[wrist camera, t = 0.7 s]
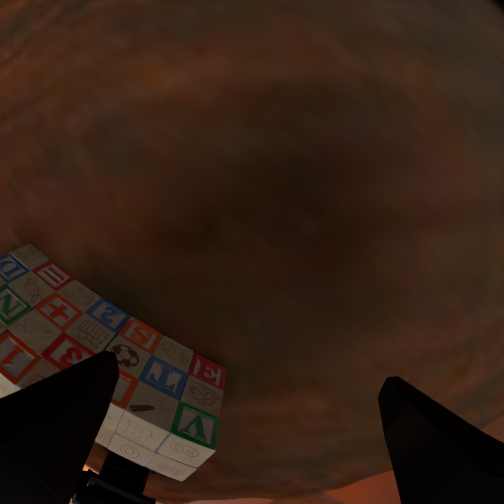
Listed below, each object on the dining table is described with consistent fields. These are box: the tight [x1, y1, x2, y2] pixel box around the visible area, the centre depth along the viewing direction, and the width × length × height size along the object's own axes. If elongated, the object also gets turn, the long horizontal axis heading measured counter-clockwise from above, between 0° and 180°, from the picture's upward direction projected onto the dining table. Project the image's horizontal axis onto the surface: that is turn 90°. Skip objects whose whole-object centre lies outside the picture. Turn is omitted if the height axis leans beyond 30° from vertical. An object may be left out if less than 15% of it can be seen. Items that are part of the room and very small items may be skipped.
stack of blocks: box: [0, 244, 226, 481], centre depth 17 cm, size 21×6×12 cm, turn 59°
